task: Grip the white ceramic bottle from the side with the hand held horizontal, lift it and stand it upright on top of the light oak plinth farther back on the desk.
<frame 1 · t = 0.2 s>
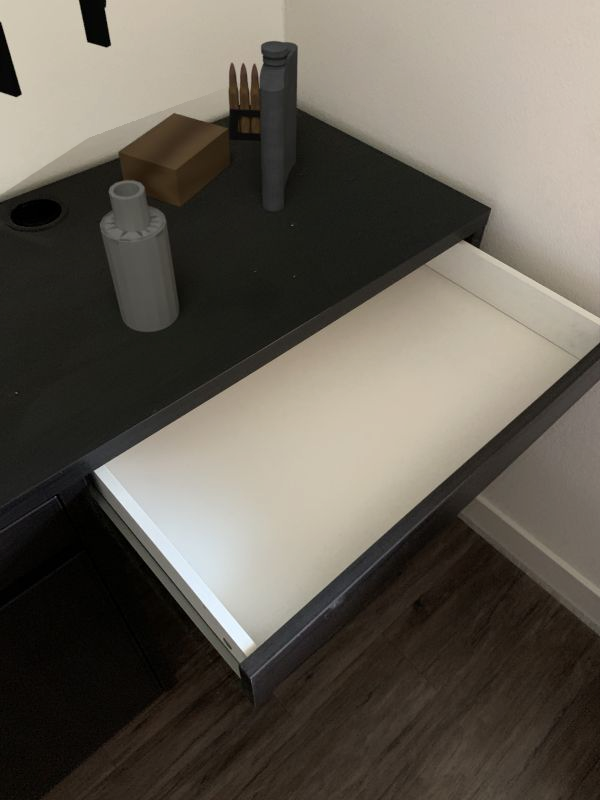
hand: (56, 67, 68), 25 cm above the table, tool pointing down, fingers open, 13 cm apart
ammunition clip: (261, 139, 111), on the table
bottle: (150, 312, 82), on the table
plinth: (179, 176, 103), on the table
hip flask: (277, 183, 102), on the table
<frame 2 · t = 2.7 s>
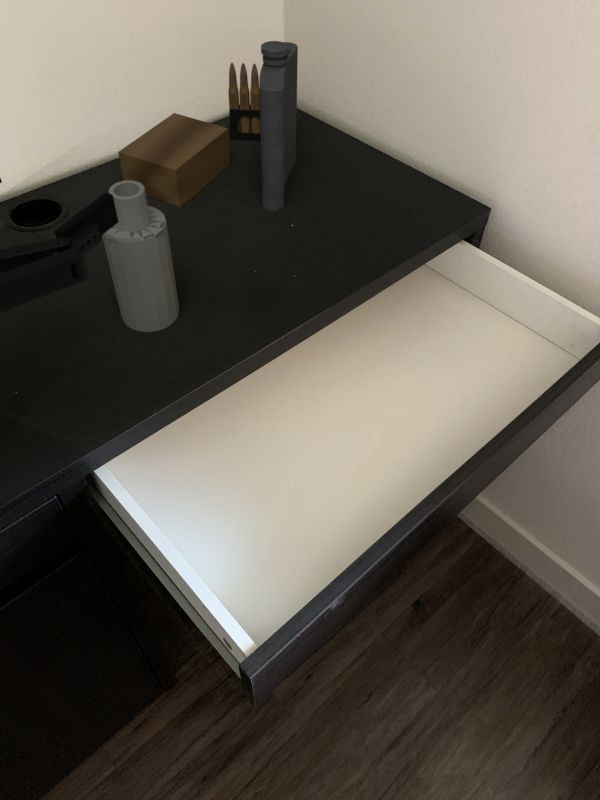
hand: (51, 186, 60), 22 cm above the table, tool horizontal, fingers open, 13 cm apart
nothing on the table moved.
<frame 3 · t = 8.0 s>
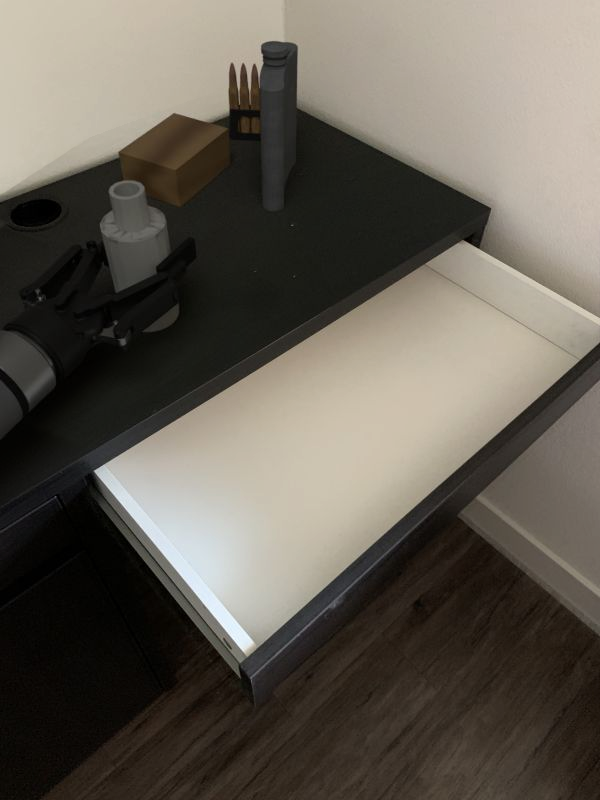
hand: (165, 237, 79), 8 cm above the table, tool horizontal, fingers closed on bottle, 7 cm apart
bottle: (150, 312, 82), on the table, touching gripper
everything else where it was.
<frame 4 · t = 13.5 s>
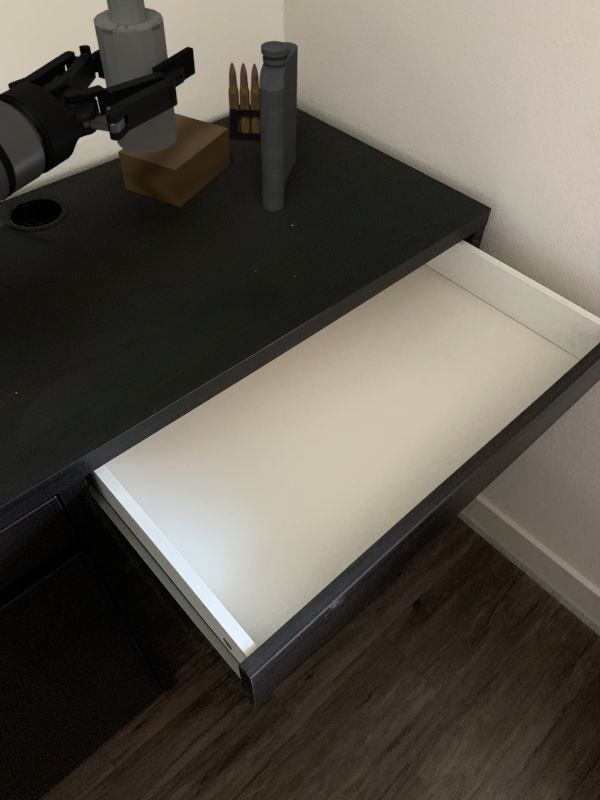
hand: (162, 52, 75), 24 cm above the table, tool horizontal, fingers closed on bottle, 7 cm apart
bottle: (147, 138, 78), point 16 cm above the table, touching gripper
everything else where it was.
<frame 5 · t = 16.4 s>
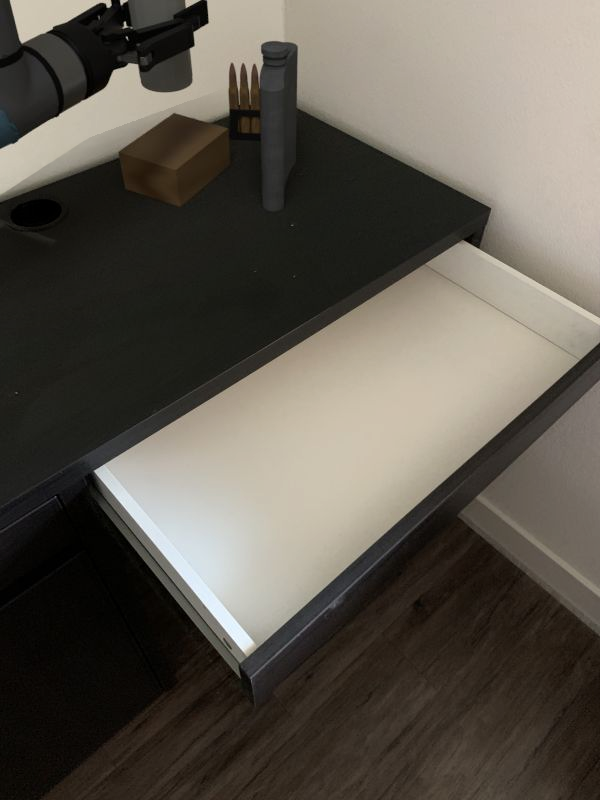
hand: (180, 5, 88), 23 cm above the table, tool horizontal, fingers closed on bottle, 7 cm apart
bottle: (166, 81, 91), point 15 cm above the table, touching gripper
everything else where it was.
when the fingers open (14 cm above the table, at t = 19.2 s): bottle stays where it is, resting on plinth.
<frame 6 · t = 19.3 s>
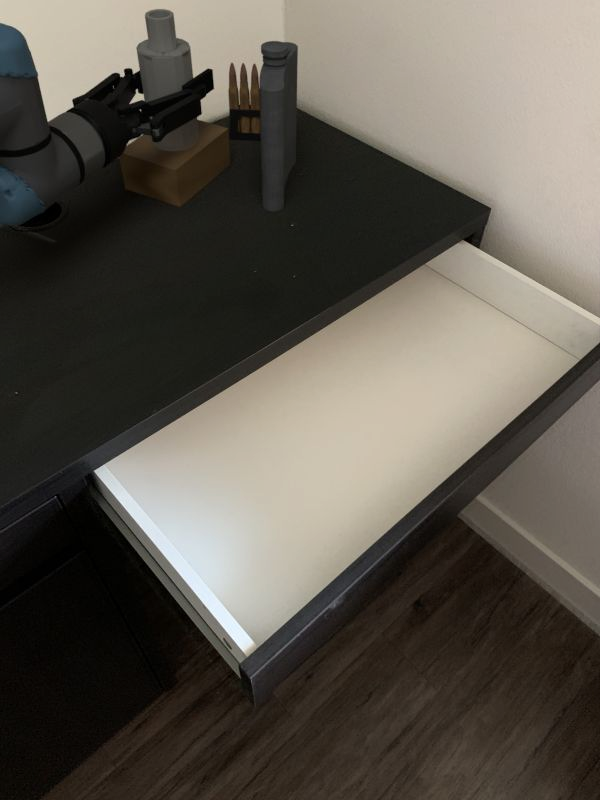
hand: (188, 72, 95), 14 cm above the table, tool horizontal, fingers open, 7 cm apart
bottle: (175, 139, 98), point 6 cm above the table, touching plinth
everything else where it was.
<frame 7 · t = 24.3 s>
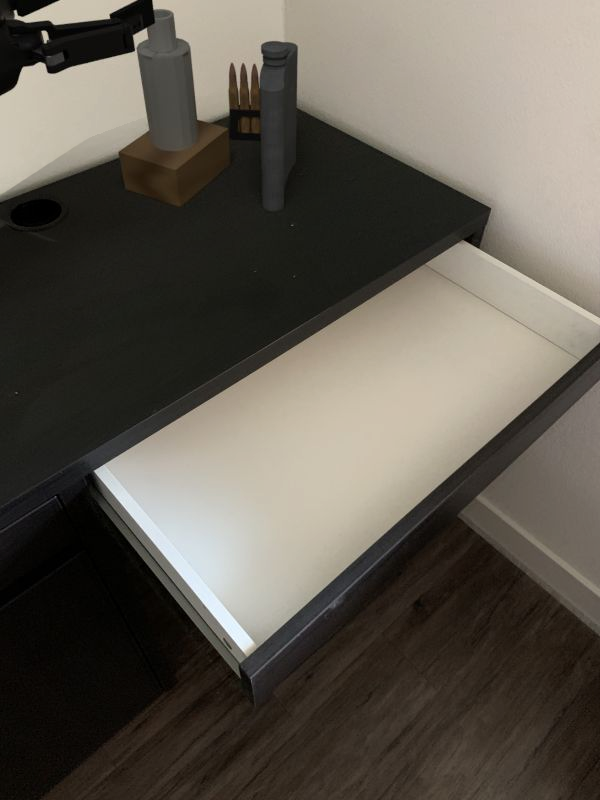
nothing on the table moved.
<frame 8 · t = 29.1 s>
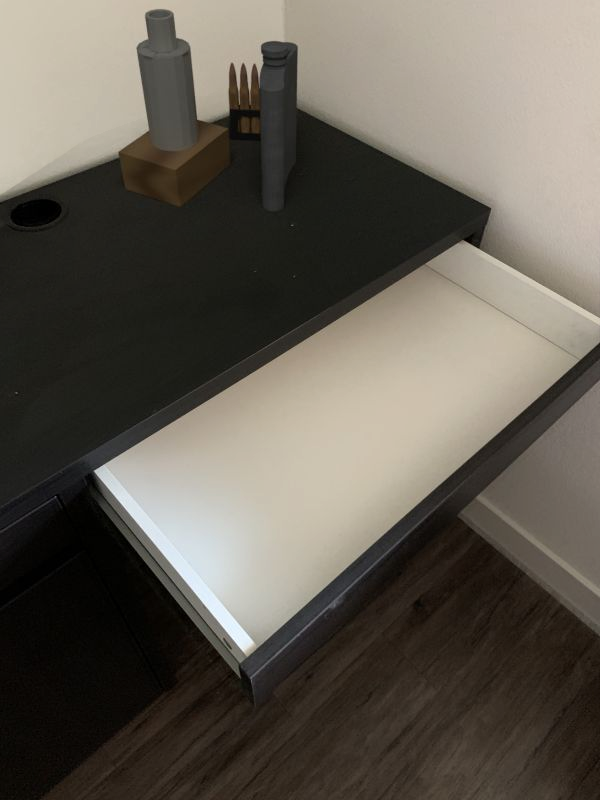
nothing on the table moved.
at the end: bottle inside the target area on the plinth (0.0 cm from its centre), point 6.0 cm above the plinth's base; bottle tilted 0°; the gripper is holding nothing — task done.
